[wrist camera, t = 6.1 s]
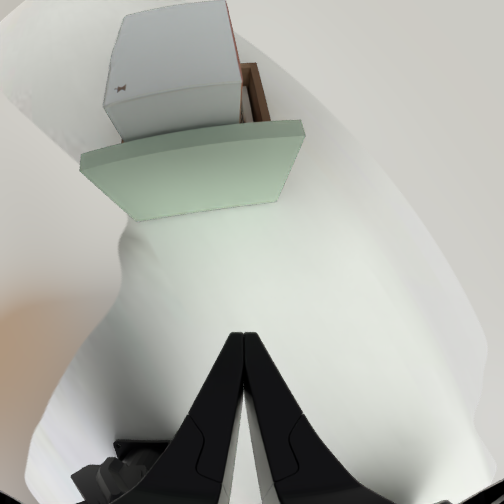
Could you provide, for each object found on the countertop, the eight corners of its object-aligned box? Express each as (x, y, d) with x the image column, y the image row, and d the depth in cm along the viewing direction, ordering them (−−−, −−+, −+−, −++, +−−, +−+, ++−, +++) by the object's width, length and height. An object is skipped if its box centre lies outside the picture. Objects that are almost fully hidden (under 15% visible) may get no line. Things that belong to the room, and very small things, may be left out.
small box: (238, 192, 23) (245, 82, 10) (161, 203, 23) (97, 109, 10) (226, 113, 24) (226, -3, 12) (159, 123, 24) (121, 15, 11)
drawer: (136, 221, 22) (79, 170, 12) (137, 112, 24) (105, 38, 14) (276, 201, 23) (305, 135, 13) (254, 95, 25) (264, 14, 15)
